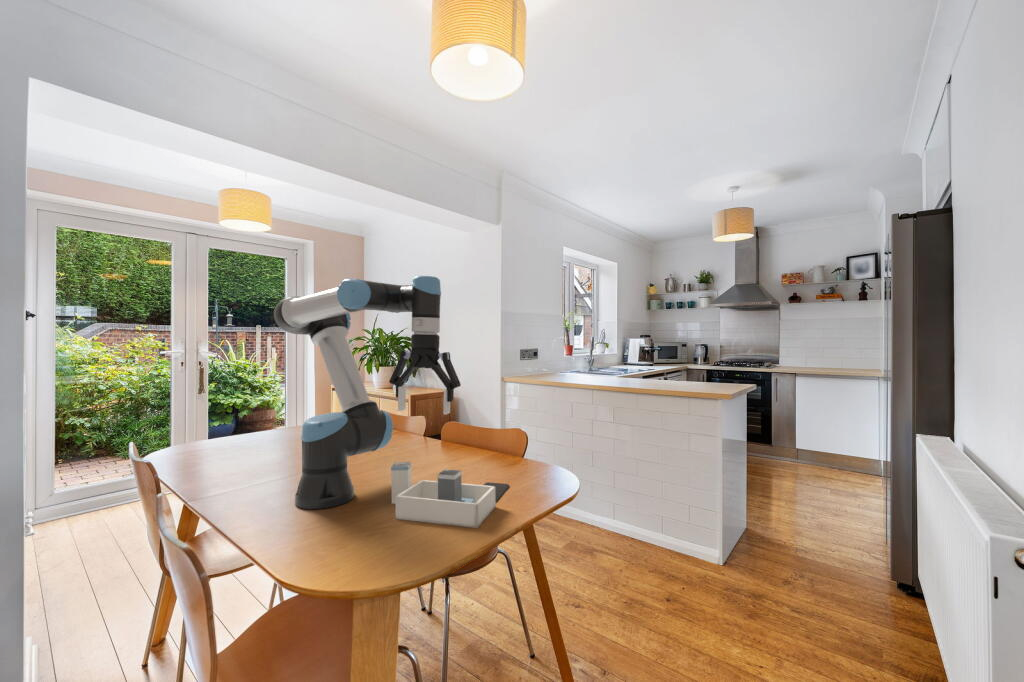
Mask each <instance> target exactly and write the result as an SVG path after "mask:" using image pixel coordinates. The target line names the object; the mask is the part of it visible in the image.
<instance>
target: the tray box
mask: <svg viewBox="0 0 1024 682" xmlns="http://www.w3.org/2000/svg"><path fill="white" fill-rule="evenodd" d="M461 488H462V502H460V501H449V500H439V499H438V480H437V481H436V480H425V479H420V480H419V481H418V482H416V483H415V484H413V485H411V487H410V488H408V489H406V490H405V491H403V492H402V493H400V494H398V495H397V496H395V519H396V520H402V521H413V522H421V523H431V524H439V525H445V526H446V525H447V526H448V525H449V526H455V527H463V528H464V527H465V528H474V529H478V528H479V527H480V526H481V525H482V524H483V523H484V521H485V520H486V519H487V518H488V517H489V516H490V514H492V512H493V511H494V510H495V508H497V507H496V505H497V502H496V497H495V486H486V485H484V484H472V483H463V482H461Z"/></svg>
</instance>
